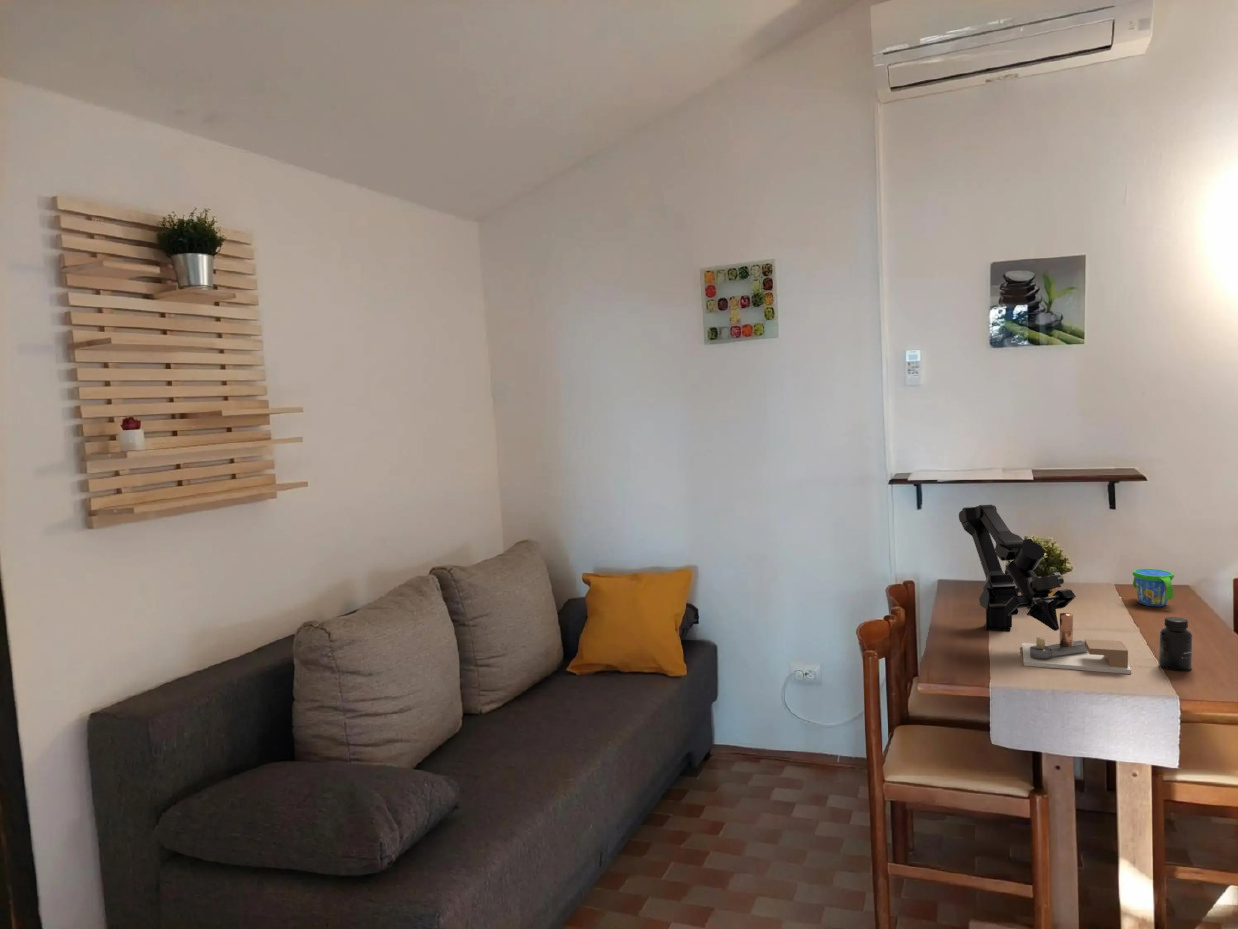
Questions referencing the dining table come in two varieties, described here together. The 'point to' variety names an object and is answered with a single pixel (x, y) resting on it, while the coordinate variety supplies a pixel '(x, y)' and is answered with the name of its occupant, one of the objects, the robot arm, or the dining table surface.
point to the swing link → (1061, 642)
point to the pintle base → (1084, 657)
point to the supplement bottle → (1175, 645)
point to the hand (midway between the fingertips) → (1057, 630)
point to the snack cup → (1153, 586)
